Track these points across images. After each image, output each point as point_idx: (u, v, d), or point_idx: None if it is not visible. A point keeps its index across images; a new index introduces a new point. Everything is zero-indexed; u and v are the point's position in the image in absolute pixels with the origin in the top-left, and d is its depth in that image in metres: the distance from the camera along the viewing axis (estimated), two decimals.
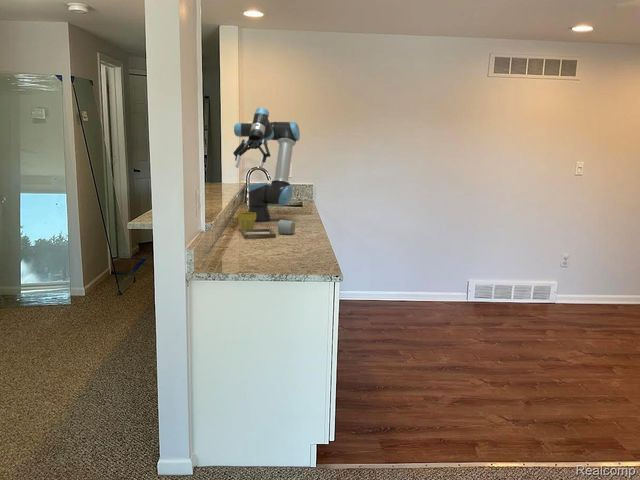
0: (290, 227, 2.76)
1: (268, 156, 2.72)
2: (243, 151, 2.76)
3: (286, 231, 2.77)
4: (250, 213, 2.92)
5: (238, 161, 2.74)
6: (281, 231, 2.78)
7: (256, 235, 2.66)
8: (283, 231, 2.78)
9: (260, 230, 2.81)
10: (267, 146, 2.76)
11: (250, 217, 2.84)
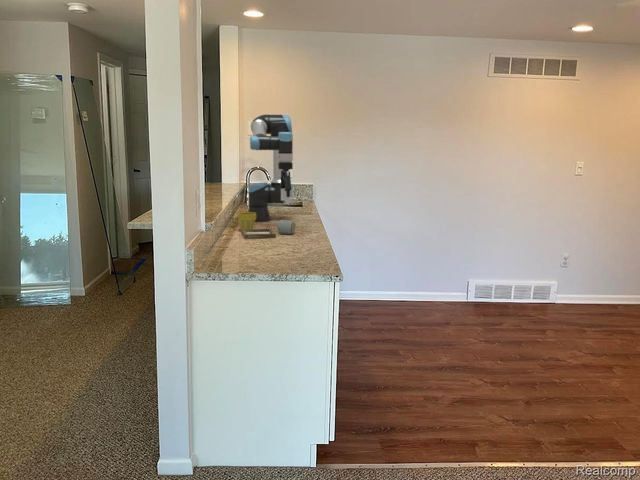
0: (290, 227, 2.76)
1: (290, 189, 2.69)
2: (283, 183, 2.82)
3: (286, 231, 2.77)
4: (250, 213, 2.92)
5: (283, 194, 2.84)
6: (281, 231, 2.78)
7: (256, 235, 2.66)
8: (283, 231, 2.78)
9: (260, 230, 2.81)
10: None
11: (250, 217, 2.84)
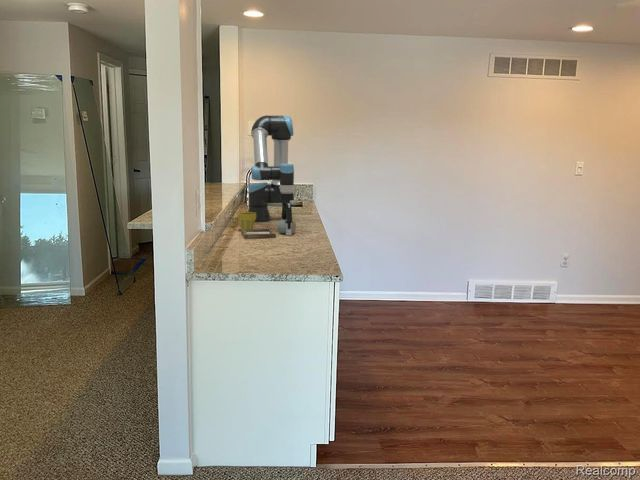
0: None
1: (291, 222, 2.73)
2: (285, 214, 2.84)
3: None
4: (250, 213, 2.92)
5: None
6: (282, 231, 2.78)
7: (256, 235, 2.66)
8: (283, 231, 2.78)
9: (260, 230, 2.81)
10: (291, 209, 2.73)
11: (250, 217, 2.84)
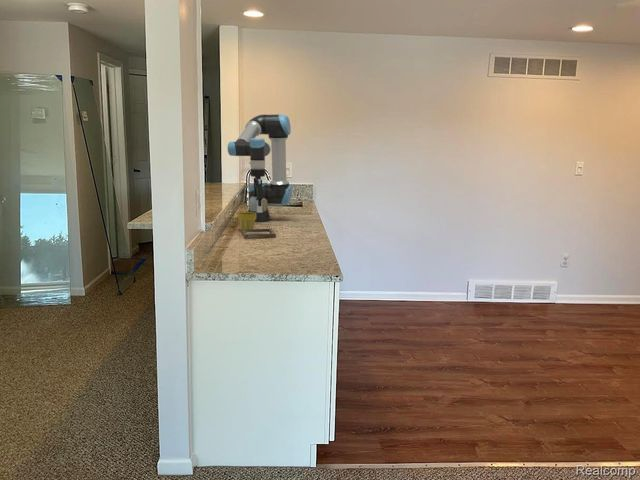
0: None
1: (261, 199, 2.63)
2: (256, 191, 2.74)
3: None
4: (250, 213, 2.92)
5: None
6: (252, 208, 2.68)
7: (256, 235, 2.66)
8: (254, 208, 2.68)
9: (260, 230, 2.81)
10: (261, 185, 2.63)
11: (250, 217, 2.84)
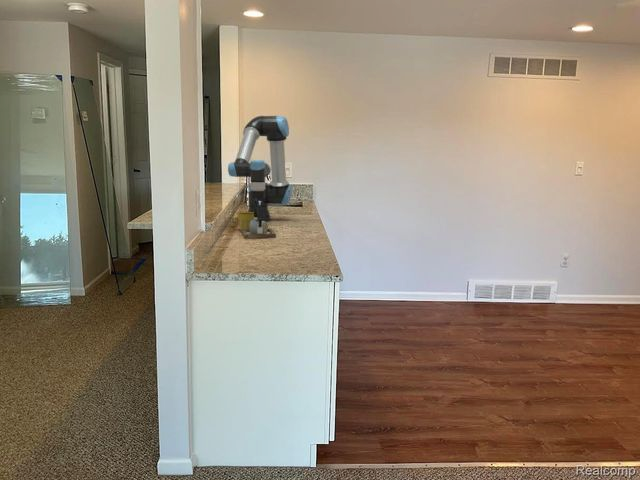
0: None
1: (261, 220, 2.65)
2: (256, 211, 2.76)
3: None
4: (250, 213, 2.92)
5: None
6: (253, 231, 2.71)
7: (256, 235, 2.66)
8: (255, 231, 2.70)
9: None
10: (262, 206, 2.65)
11: (250, 217, 2.84)
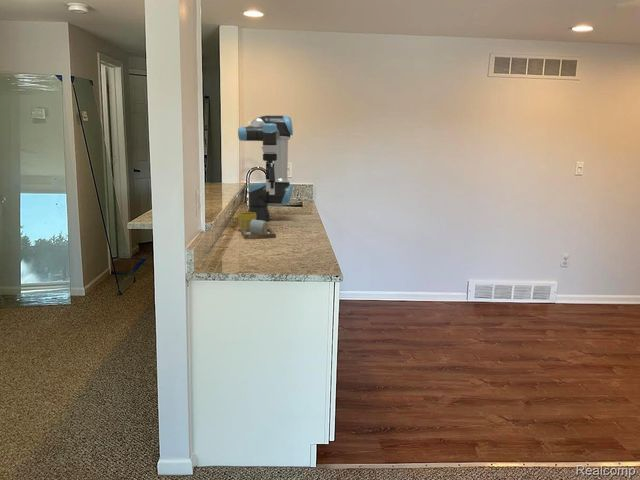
0: (262, 227, 2.69)
1: (273, 181, 2.70)
2: (268, 174, 2.83)
3: (258, 231, 2.70)
4: (250, 213, 2.92)
5: (268, 185, 2.86)
6: (253, 231, 2.71)
7: (256, 235, 2.66)
8: (255, 231, 2.71)
9: None
10: (273, 168, 2.71)
11: (250, 217, 2.84)
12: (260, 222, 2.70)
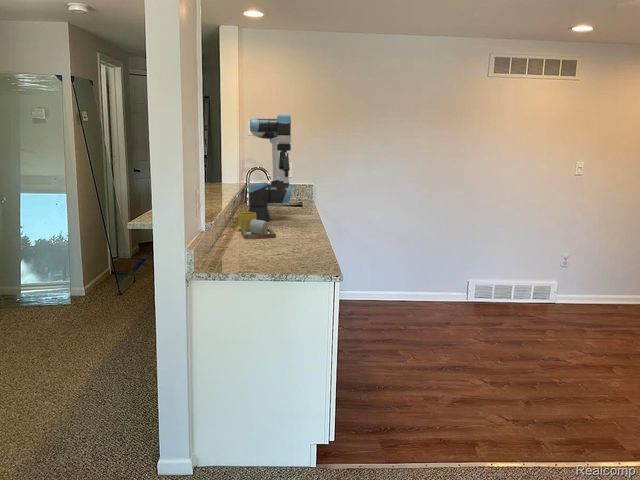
0: (262, 227, 2.69)
1: (288, 170, 2.80)
2: (282, 164, 2.93)
3: (258, 231, 2.70)
4: (250, 213, 2.92)
5: (281, 175, 2.96)
6: (253, 231, 2.71)
7: (256, 235, 2.66)
8: (255, 231, 2.71)
9: None
10: (288, 157, 2.81)
11: (250, 217, 2.84)
12: (260, 222, 2.70)
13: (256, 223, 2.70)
